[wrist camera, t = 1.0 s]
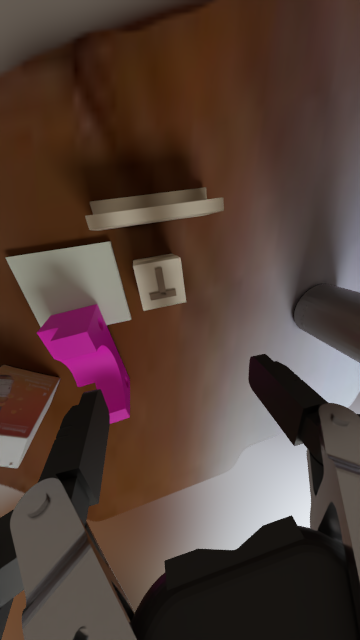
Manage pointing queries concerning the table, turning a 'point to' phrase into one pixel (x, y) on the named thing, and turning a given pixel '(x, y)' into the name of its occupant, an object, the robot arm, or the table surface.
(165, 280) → the birch cube
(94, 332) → the toy block
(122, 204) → the screen
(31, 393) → the small box
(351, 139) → the table surface
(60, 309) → the pad
